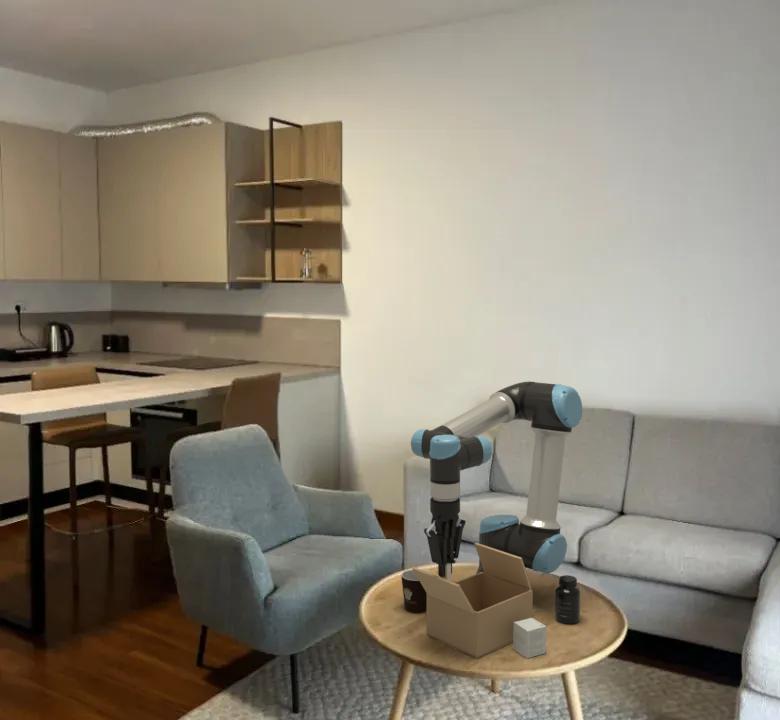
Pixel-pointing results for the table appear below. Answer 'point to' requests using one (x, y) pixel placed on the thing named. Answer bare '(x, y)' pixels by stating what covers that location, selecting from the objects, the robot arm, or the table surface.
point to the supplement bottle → (567, 600)
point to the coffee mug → (413, 593)
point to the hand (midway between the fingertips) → (445, 587)
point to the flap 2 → (503, 565)
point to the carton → (480, 615)
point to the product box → (529, 637)
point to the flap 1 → (443, 590)
